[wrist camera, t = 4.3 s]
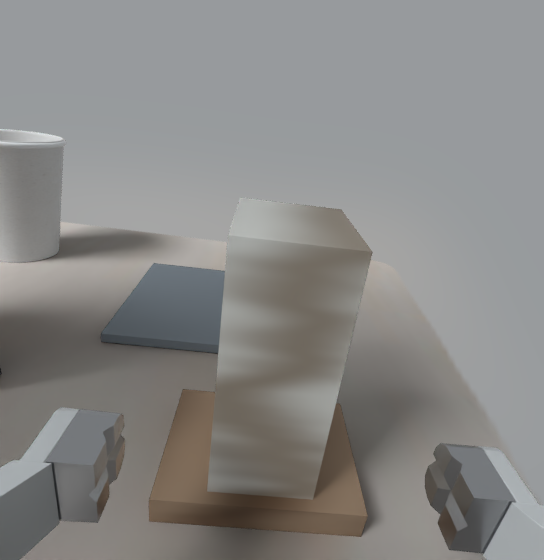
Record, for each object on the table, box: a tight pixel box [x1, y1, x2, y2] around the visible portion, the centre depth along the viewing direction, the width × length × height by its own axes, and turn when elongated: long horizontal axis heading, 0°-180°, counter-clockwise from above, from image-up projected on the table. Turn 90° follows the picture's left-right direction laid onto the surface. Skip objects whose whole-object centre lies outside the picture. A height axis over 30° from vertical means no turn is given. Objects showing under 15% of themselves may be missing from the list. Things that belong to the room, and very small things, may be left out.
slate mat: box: [101, 263, 225, 353], centre depth 30 cm, size 14×12×1 cm
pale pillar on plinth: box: [149, 197, 372, 537], centre depth 15 cm, size 8×6×11 cm
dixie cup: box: [0, 129, 66, 262], centre depth 33 cm, size 8×8×10 cm
